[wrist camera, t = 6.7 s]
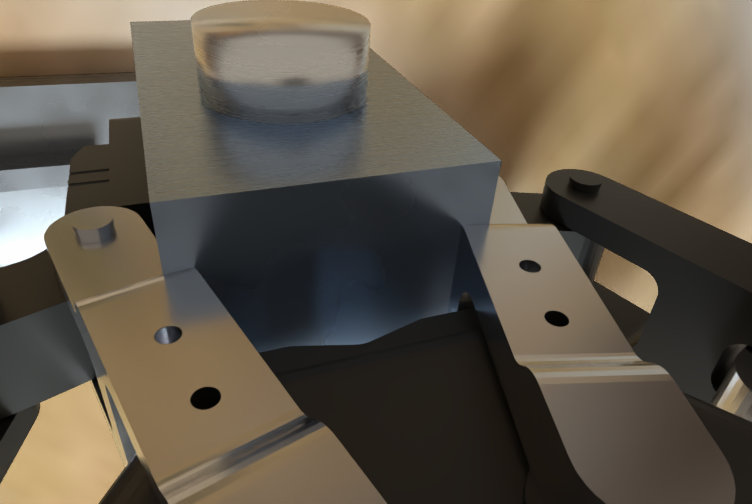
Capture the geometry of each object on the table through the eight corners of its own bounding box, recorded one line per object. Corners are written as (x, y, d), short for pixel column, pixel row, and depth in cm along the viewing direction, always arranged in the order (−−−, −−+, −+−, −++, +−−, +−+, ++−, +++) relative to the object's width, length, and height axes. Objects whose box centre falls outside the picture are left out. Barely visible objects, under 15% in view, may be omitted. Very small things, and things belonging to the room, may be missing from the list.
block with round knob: (120, -37, 11) (130, 106, 5) (333, -36, 12) (518, 78, 6) (173, 275, 15) (211, 533, 9) (329, 250, 16) (441, 466, 10)
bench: (241, 68, 28) (266, 113, 24) (253, 294, 36) (274, 358, 32) (-346, 90, 21) (-460, 160, 17) (-171, 364, 29) (-219, 457, 25)
